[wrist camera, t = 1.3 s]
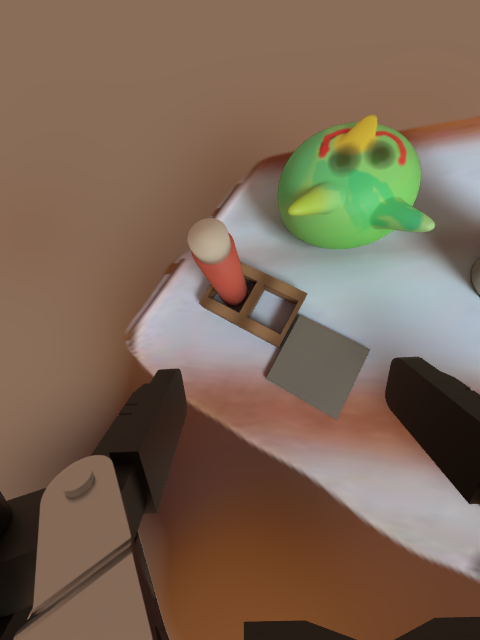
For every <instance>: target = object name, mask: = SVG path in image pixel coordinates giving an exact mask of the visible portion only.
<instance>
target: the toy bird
mask: <svg viewBox="0 0 480 640" xmlns="http://www.w3.org/2000/svg"><path fill="white" fill-rule="evenodd" d="M420 180H421V169H420V163H419V159H418V156H417V154H416V151H415V149H414V148H413V146H412V145H411V143H410V142H409V141H408V140H407V139H406V138H405V137H404V136H403V135H402V134H400V133H399V132H397V131H396V130H394V129H392V128H389V127H387V126H384V125H380V124H377V117H376V116H375V115H368V116H366V117H365V118H363V119H362V120H361V121H360V122H351V123H345V124H340V125H336V126H333V127H330V128H327V129H325V130H323V131H321V132H319V133H317V134H315V135H313V136H312V137H310V138H309V139H307V140H306V141H305V142H303V143H302V144H301V145H300V146H299V147H298V148H297V149H296V150H295V152H294V153H293V154H292V155H291V157H290V158H289V160H288V161H287V163H286V165H285V167H284V169H283V172H282V174H281V178H280V181H279V187H278V206H279V211H280V215H281V217H282V220H283V222H284V224H285V225H286V227H287V228H288V229H289V231H290V232H291V233H292V234H293V235H295V236H296V237H297V238H299V239H300V240H302V241H304V242H306V243H308V244H311V245H314V246H317V247H321V248H328V249H347V248H354V247H359V246H363V245H366V244H369V243H372V242H374V241H376V240H379V239H380V238H382V237H384V236H386V235H387V234H389V233H390V232H392V231H393V230H399V231H408V232H428V231H431V230H432V229H434V227H435V223H434V221H433V220H432V219H431V218H429V217H428V216H427V215H425V214H424V213H422V212H421V211H419V210H418V209H416V208H414V207H413V204H414V202H415V200H416V197H417V194H418V191H419V187H420Z"/></svg>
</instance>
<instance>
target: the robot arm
mask: <svg viewBox="0 0 480 640" xmlns="http://www.w3.org/2000/svg"><path fill="white" fill-rule="evenodd" d="M471 278H472V283H473V286H474V288H475V289H476V291H477V293H478V294H479V295H480V258H479V259H478V260H477V261H476V262H475V264H474V266H473V268H472V273H471ZM385 398H386V402H387V404H388V407H389V408H390V410H391V411H392V412H393V413H394V415H395V416H396V417H397V418H398V419H399V420H400V422H401V423H402V424H403V425H404V426H405V428H406V429H407V430H408V431H409V432H410V434H411V435H412V436H413V437H414V438H415V440H416V441H417V442H418V443H419V444H420V446H421V447H422V448H423V449H424V450H425V452H426V453H427V454H428V455H429V456H430V458H431V459H432V460H433V461H434V462H435V464H436V465H437V466H438V467H439V468H440V470H441V471H442V472H443V473H444V474H445V476H446V477H447V478H448V479H449V480H450V482H451V483H452V484H453V485H454V486H455V488H456V489H457V490H458V491H459V492H460V493H461V495H462V496H463V497H464V498H465V499H466V501H467V502H468V503H469V504H480V395H479V394H478V393H476V392H475V391H474V390H473V391H471V390H470V388H469V387H468V386H466V385H465V384H463V383H462V382H460V381H459V380H458V379H456V378H454V377H452V376H450V375H448V374H445V373H443V372H441V371H439V370H438V369H436V368H435V367H433V366H432V365H430V364H429V363H428V362H426V361H425V360H423V359H422V358H420V357H401V358H394V359H393V360H392V362H391V366H390V371H389V376H388V381H387V386H386V391H385ZM186 410H187V402H186V396H185V391H184V385H183V380H182V374H181V371H180V369H161V370H158V371H157V373H156V374H155V376H154V378H153V379H152V381H151V383H149V384H143V385H142V386H141V387H140V388H138V389H137V390H136V391H135V392H134V393H133V394H132V395H131V397H130V398H129V399H128V401H127V403H126V404H125V406H124V407H123V408H122V410H121V411H120V413H119V416H117V417H116V419H115V420H114V422H113V423H112V425H111V426H110V428H109V430H108V431H107V432H106V434H105V435H104V437H103V438H102V440H101V441H100V443H99V444H98V446H97V447H96V449H95V450H94V452H93V453H92V455H91V456H89V457H86V458H83V459H81V460H79V461H76V462H75V463H73V464H71V465H70V466H68V467H67V468H66V469H64V470H63V471H62V472H60V473H59V474H58V475H57V476H56V477H55V478H54V479H53V480H52V482H51V483H50V484H49V485H48V487H47V488H45V489H42V490H38V491H35V492H32V493H29V494H27V495H23V496H20V497H18V498H14V499H11V500H8V501H6V500H5V498H4V496H3V495H2V493H1V492H0V640H169V637H168V634H167V632H166V628H165V625H164V622H163V619H162V615H161V612H160V608H159V605H158V602H157V598H156V594H155V591H154V587H153V583H152V580H151V576H150V573H149V569H148V565H147V562H146V558H145V555H144V551H143V547H142V544H141V540H140V537H139V533H138V528H139V525H140V522H141V519H142V516H143V514H145V513H157V512H158V508H159V505H160V502H161V498H162V495H163V492H164V488H165V485H166V482H167V478H168V475H169V472H170V468H171V465H172V462H173V458H174V455H175V452H176V448H177V445H178V441H179V438H180V435H181V431H182V428H183V425H184V421H185V418H186V412H187V411H186ZM32 608H33V610H32ZM31 610H32V614H31V616H30V618H29V619H28V620H27V618H28V616H29V614H30V612H31ZM244 640H356V639H353V638H350V637H348V636H345V635H342V634H340V633H337V632H334V631H331V630H329V629H326V628H324V627H321V626H318V625H316V624H313V623H310V622H308V621H262V622H244ZM395 640H480V617H455V618H434V619H432V620H430V621H428V622H426V623H424V624H423V625H421V626H419V627H417V628H415V629H413V630H412V631H410V632H408V633H406V634H404V635H402V636H401V637H399V638H397V639H395Z"/></svg>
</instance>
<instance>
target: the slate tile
mask: <svg viewBox="0 0 480 640" xmlns="http://www.w3.org/2000/svg"><path fill="white" fill-rule="evenodd" d="M369 351H370V349H368V348H366V347H364V346H362V345H360V344H358V343H356V342H354V341H352V340H350V339H348V338H346V337H344V336H342V335H340V334H338V333H336V332H334V331H331V330H329V329H327V328H325V327H323V326H321V325H319V324H317V323H315V322H313V321H311V320H309V319H307V318H305V317H303V316H301V315H300V316H299V318H298V319H297V321H296V323H295V325H294V327H293V329H292V331H291V333H290V334H289V336H288V338H287V340H286V342H285V344H284V346H283V348H282V349H281V351H280V353H279V355H278V357H277V359H276V361H275V363H274V365H273V366H272V368H271V370H270V372H269V374H268V376H267V378H266V379H267V380H269V381H271V382H272V383H274V384H276V385H278V386H279V387H281V388H283V389H285V390H286V391H288V392H290V393H291V394H293V395H295V396H297V397H298V398H300V399H302V400H304V401H305V402H307V403H309V404H310V405H312V406H314V407H316V408H317V409H319V410H321V411H323V412H324V413H326V414H328V415H329V416H331V417H333V418H335V419H336V420H337V418H338V416H339V414H340V412H341V410H342V408H343V405H344V403H345V401H346V399H347V397H348V395H349V393H350V391H351V389H352V387H353V385H354V382H355V380H356V378H357V376H358V374H359V372H360V370H361V368H362V366H363V364H364V361H365V359H366V357H367V355H368V353H369Z"/></svg>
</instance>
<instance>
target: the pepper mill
mask: <svg viewBox="0 0 480 640" xmlns="http://www.w3.org/2000/svg"><path fill="white" fill-rule="evenodd" d="M187 239H188V240H187V241H188V245H189V247H190V249H191V252H192V256H193V258H194V260H195V261H196V263H197V264H198V266H199V267H200V269H201V270H202V271H203V273H204V274H205V276H206V277H207V279H208V280H209V282H210V283H211V284H212V286H213V287H214V289H215V290H216V292H217V293H218V295H219V296H220V297H221V299H222V300H223V302H224V303H225V304H226V305H227V306H230V307H239V306H241V305H243V304H244V303H245V302H246V300H247V299H248V294H249V293H248V288H247V285H246V281H245V278H244V275H243V271H242V268H241V264H240V261H239V258H238V254H237V251H236V247H235V244H234V240H233V238H232V236H231V235H230V234H229V233H228V231H227V228H226V226H225V225H224V224H223V223H222V222H221V221H219V220H217V219H213V218H207V219H203V220H200V221H198V222H197V223H195V224H194V225H193V226H192V228H191V229H190V231H189V233H188V238H187Z"/></svg>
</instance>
